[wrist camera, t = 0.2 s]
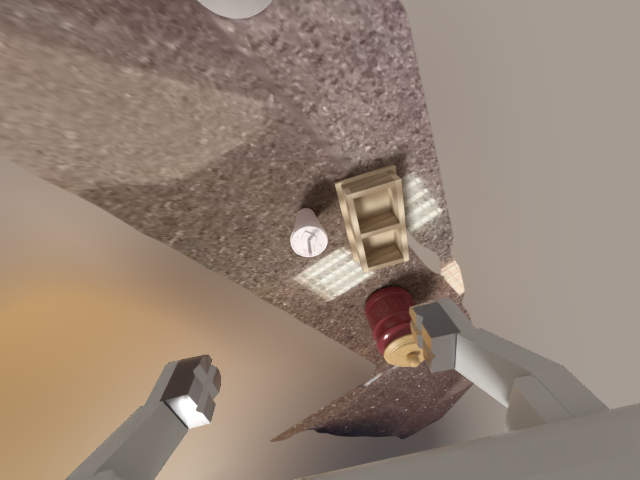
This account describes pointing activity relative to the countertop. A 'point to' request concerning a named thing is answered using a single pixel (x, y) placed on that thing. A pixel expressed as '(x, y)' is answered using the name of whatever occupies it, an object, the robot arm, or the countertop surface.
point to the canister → (393, 326)
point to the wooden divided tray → (374, 217)
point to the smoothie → (308, 234)
